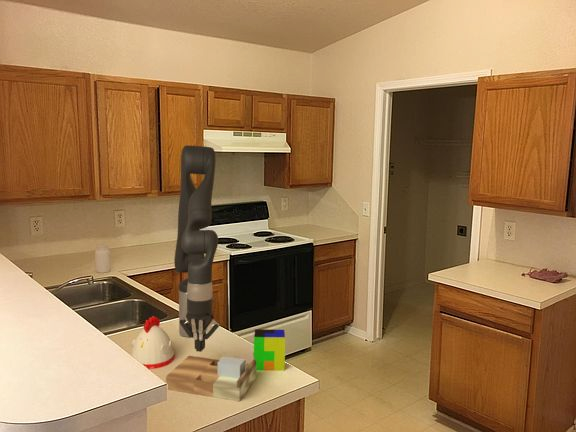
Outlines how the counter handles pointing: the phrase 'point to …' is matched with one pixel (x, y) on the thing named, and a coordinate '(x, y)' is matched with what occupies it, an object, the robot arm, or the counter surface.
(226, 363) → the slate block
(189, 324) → the robot arm
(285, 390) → the counter surface
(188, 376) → the board
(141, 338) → the kitchen timer
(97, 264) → the pill bottle
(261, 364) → the puzzle toy
